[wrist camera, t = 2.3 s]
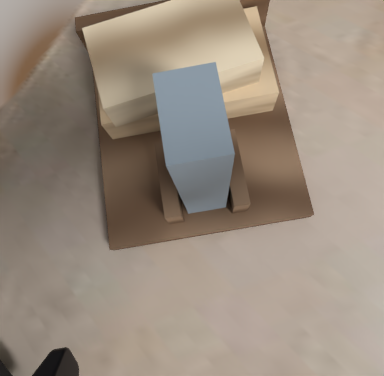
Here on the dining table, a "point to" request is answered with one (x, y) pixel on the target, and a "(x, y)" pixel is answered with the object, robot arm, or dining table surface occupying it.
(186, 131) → the tall board
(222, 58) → the offcut stack
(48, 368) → the robot arm
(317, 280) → the dining table surface
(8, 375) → the magazine
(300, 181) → the walnut rack
